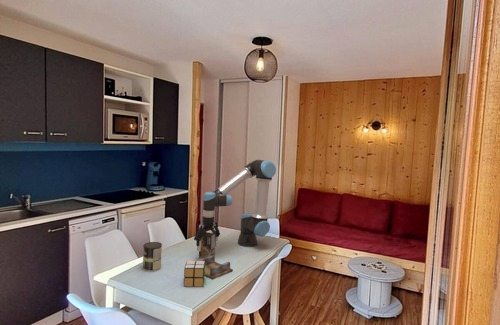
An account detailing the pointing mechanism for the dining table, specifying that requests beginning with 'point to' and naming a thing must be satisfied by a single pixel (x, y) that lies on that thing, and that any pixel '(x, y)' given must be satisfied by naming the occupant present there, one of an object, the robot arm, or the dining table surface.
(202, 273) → the puzzle cube
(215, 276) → the rail dock
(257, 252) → the dining table surface
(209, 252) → the coffee box
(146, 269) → the coffee can
